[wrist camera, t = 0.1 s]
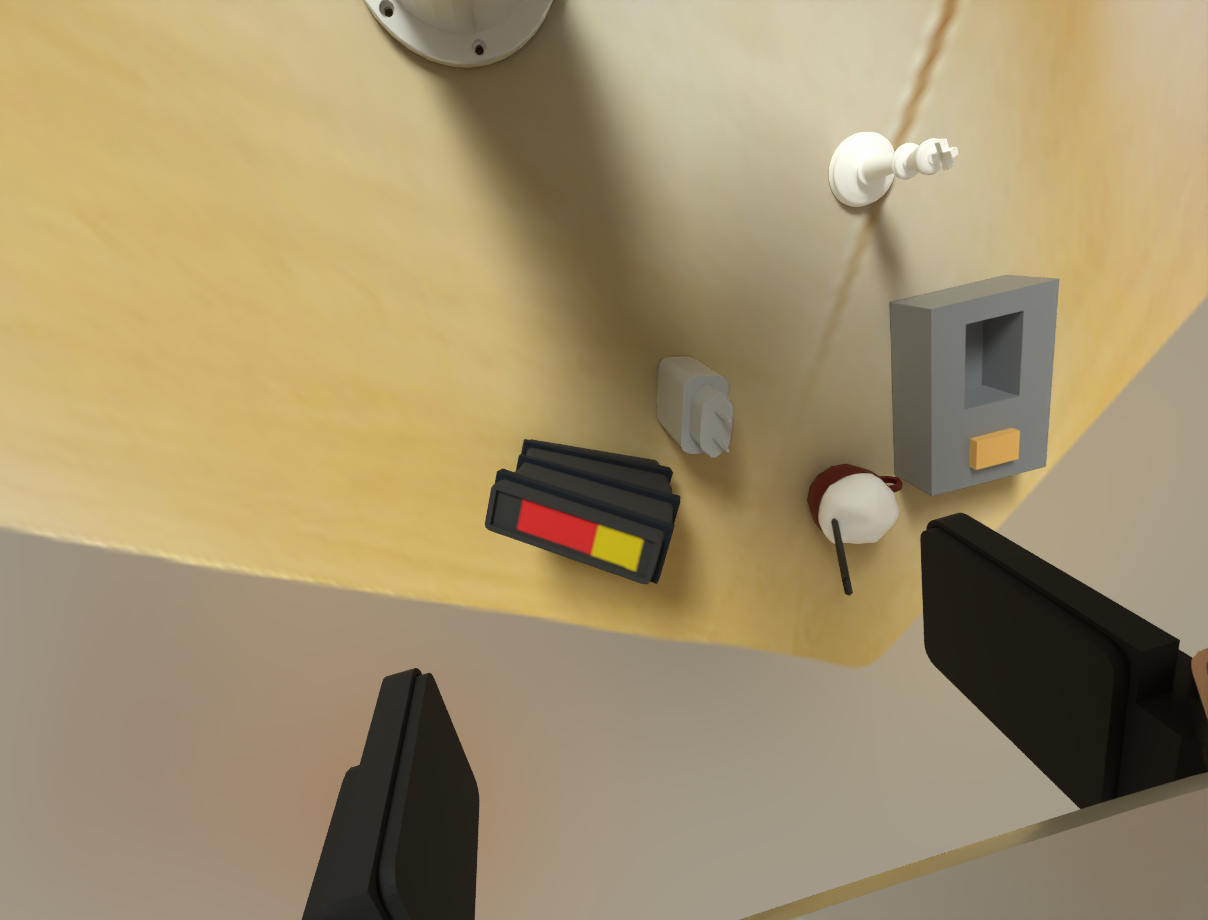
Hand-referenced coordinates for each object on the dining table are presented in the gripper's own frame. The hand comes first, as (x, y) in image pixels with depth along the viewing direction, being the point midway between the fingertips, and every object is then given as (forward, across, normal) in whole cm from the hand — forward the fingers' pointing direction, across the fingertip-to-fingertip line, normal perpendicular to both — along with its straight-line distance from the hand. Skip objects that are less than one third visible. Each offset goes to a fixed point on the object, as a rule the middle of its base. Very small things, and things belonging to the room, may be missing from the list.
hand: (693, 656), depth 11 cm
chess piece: (+37, -25, -7) cm, 45 cm away
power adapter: (+37, -9, +6) cm, 38 cm away
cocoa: (+37, -20, +18) cm, 46 cm away
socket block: (+37, -32, +11) cm, 50 cm away
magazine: (+37, 0, +10) cm, 38 cm away
